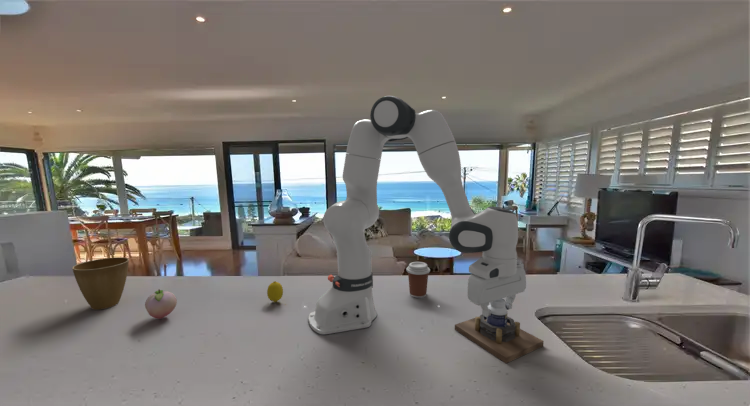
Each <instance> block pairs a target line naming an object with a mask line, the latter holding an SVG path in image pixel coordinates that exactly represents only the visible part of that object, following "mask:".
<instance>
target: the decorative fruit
mask: <svg viewBox="0 0 750 406" xmlns="http://www.w3.org/2000/svg"><path fill="white" fill-rule="evenodd" d="M177 304H178V301H177V297H176V296H175V294H174V293H173V292H171V291H166V290H162V289H158V290H156V291H154V293H152V294H150V295H149V296H148V297H147V298H146V300H145V302H144V307H145V310H146V312H147V313H148V315H149V316H150V317H152V318H153V319H159V320H162V319H164V318H166V317H167V316H169V315H170V314H172V312H173V311H174V310H175V309H176V306H177Z"/></svg>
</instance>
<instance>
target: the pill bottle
mask: <svg viewBox="0 0 750 406" xmlns="http://www.w3.org/2000/svg"><path fill="white" fill-rule="evenodd" d="M505 301H506V299H505V298H502V299H499V300H495V301H492V302H489V306H488V309H489V310H491V316H489V317H487V323H489V324H490V325H492V326H498V327H507V316H508V310H507V309H506V307H505ZM486 330H487V331H488V332H490V333H492V334H495V335H496V332H491V331H489V330H488V329H486ZM505 335H506V334H505V333H502V336H505Z"/></svg>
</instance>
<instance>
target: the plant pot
mask: <svg viewBox="0 0 750 406" xmlns="http://www.w3.org/2000/svg"><path fill="white" fill-rule="evenodd" d="M129 260H130V259H129V258H128V257H117V256H115V257H107V258H106V257H105V258H98V259H92V260H88V261H84V262H80V263H78V264H75V265H73V266H72V268H71V269H72V272H73V276H74V278H75V282H76V283H77V284H76V285H78V288H79V291H80V292H81V294H82V296H83V298H84V300H85V301H86V303H87V304H88V305H89V307H90V308H91V309H92V310H95V311H96V310H99V311H100V310H104V309H105V310H106V309H109V308H112V307H114V305H115V306H116V304H117V305H118V304H119V303H120V301H121V298H122V296H123V292H124V288H125V286H126V282H127V277H128V270H129V262H130V261H129Z"/></svg>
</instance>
